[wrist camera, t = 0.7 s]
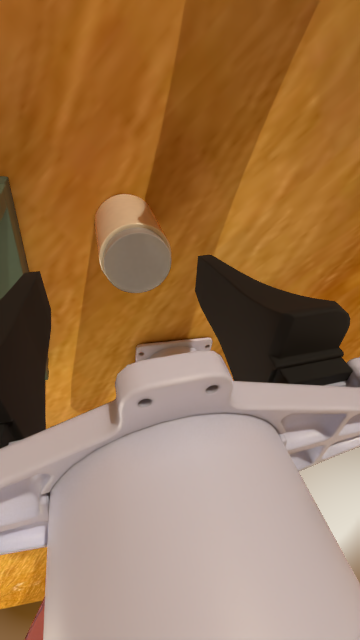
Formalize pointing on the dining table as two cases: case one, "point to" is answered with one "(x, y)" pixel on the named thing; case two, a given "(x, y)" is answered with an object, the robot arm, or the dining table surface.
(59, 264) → the dining table surface
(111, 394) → the dining table surface
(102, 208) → the salt shaker
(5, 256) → the shelf
